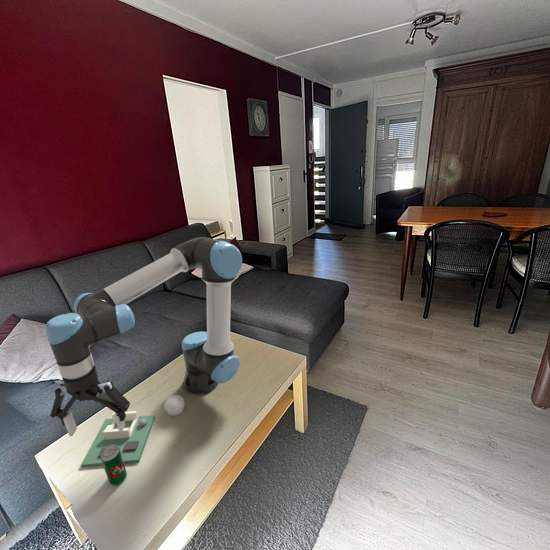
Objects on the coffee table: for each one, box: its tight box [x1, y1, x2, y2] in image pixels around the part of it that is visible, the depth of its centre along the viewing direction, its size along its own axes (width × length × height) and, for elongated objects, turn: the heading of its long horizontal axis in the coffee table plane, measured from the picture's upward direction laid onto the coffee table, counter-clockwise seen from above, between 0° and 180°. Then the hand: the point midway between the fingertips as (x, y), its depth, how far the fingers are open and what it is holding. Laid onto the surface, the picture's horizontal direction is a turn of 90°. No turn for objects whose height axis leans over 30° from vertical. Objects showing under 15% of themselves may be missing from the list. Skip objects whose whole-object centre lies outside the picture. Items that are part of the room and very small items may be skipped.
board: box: [80, 410, 156, 468], centre depth 105 cm, size 18×18×5 cm
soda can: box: [100, 444, 128, 486], centre depth 91 cm, size 5×5×12 cm
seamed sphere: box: [156, 394, 185, 416], centre depth 115 cm, size 10×7×7 cm
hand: (98, 430), depth 87 cm, fingers open, 13 cm apart
